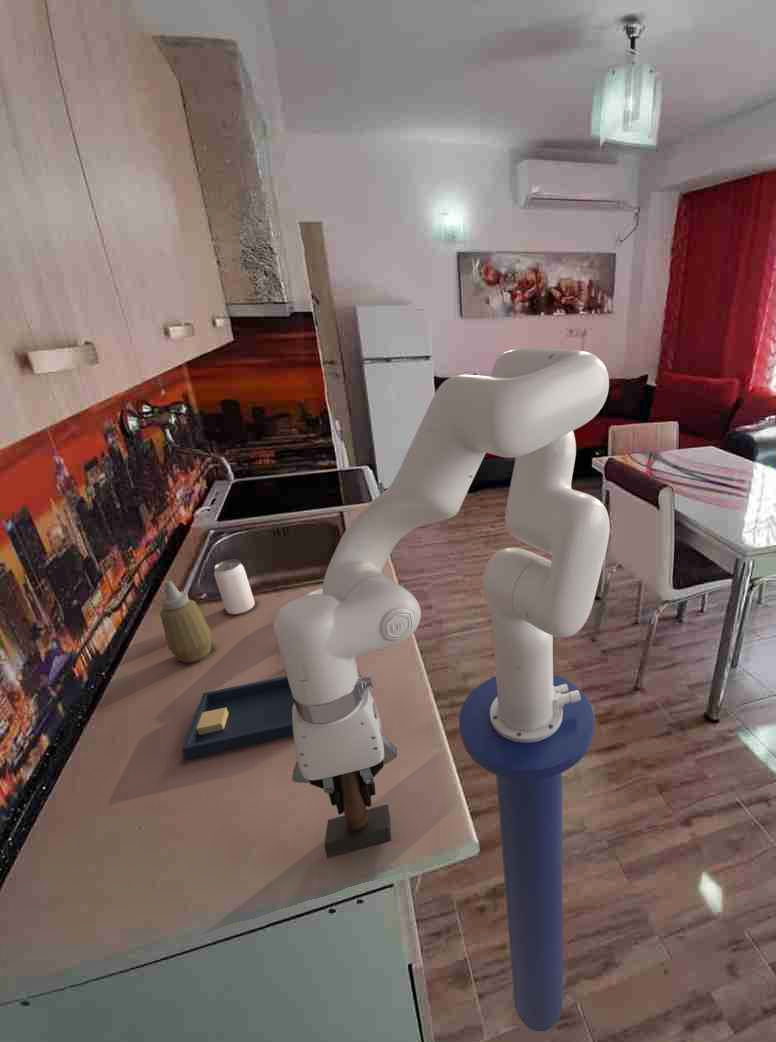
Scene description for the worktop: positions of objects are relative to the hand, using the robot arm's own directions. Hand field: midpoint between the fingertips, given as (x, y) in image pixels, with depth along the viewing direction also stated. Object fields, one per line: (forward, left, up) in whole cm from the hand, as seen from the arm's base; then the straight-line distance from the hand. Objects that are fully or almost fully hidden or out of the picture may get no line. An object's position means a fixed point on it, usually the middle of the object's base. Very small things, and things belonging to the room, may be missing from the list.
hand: (355, 800), depth 68 cm
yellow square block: (+25, -28, -5) cm, 38 cm away
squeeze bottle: (+34, -52, -6) cm, 62 cm away
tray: (+18, -28, -6) cm, 34 cm away
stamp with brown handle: (0, +3, -4) cm, 5 cm away
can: (+28, -69, -6) cm, 74 cm away
